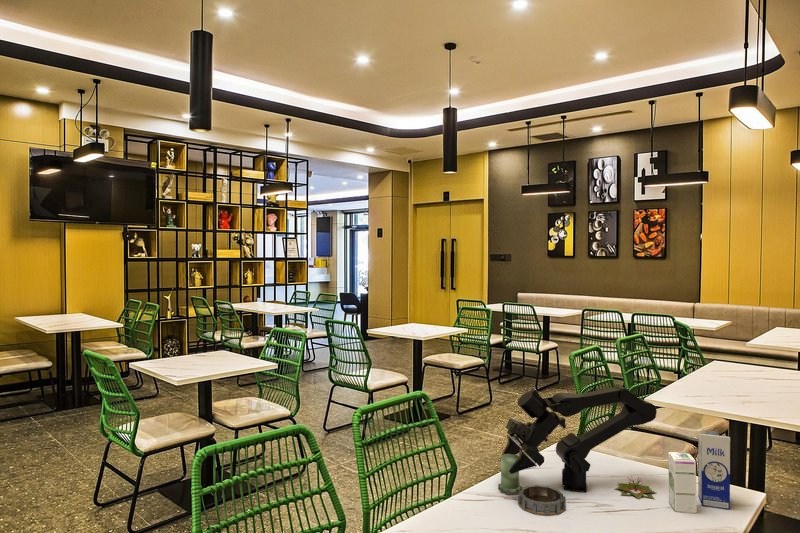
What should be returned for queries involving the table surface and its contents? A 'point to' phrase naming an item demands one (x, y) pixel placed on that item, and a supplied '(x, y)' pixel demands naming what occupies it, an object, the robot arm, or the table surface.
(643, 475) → the table surface
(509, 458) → the green marbled cylinder
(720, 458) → the milk carton
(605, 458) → the table surface
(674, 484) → the syrup box
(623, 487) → the lily flower
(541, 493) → the gear collar
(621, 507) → the table surface
